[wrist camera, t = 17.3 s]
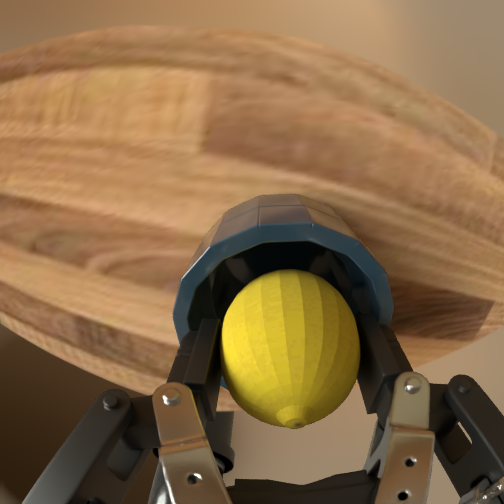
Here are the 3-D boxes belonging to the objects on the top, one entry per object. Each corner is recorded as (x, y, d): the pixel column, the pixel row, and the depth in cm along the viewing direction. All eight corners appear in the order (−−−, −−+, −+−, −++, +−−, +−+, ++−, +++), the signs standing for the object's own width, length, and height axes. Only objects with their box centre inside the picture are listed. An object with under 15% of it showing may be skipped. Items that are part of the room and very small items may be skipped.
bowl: (316, 348, 19) (328, 410, 14) (184, 309, 18) (160, 370, 13) (384, 228, 15) (430, 271, 10) (227, 167, 14) (207, 184, 9)
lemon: (294, 346, 16) (306, 468, 9) (212, 303, 15) (176, 430, 8) (356, 277, 14) (417, 396, 7) (269, 220, 13) (274, 331, 6)
